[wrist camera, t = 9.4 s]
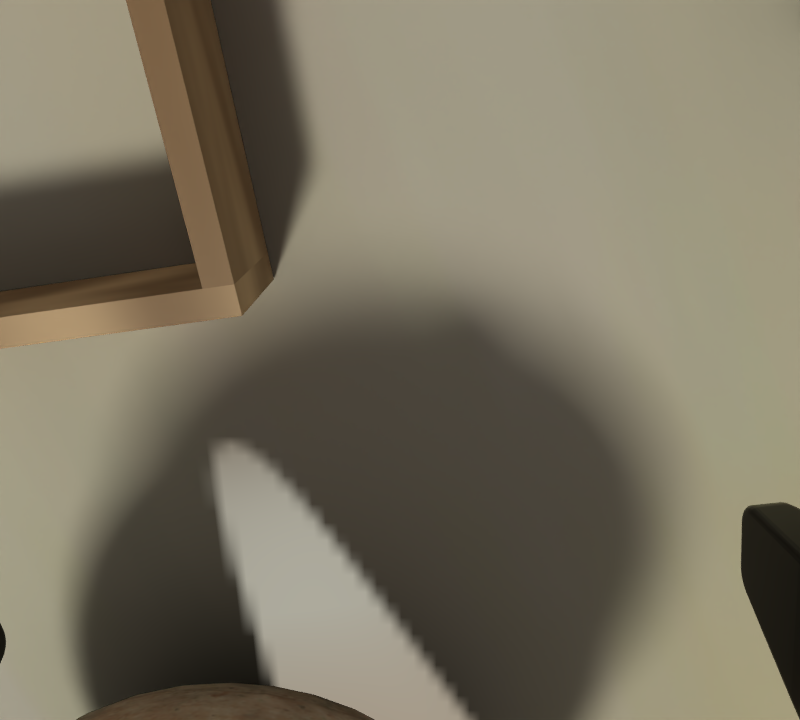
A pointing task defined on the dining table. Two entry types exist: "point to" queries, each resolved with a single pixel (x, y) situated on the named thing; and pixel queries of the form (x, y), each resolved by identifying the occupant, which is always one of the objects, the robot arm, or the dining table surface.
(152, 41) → the wooden frame
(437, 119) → the dining table surface
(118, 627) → the dining table surface
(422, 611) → the dining table surface
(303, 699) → the cooking pot
